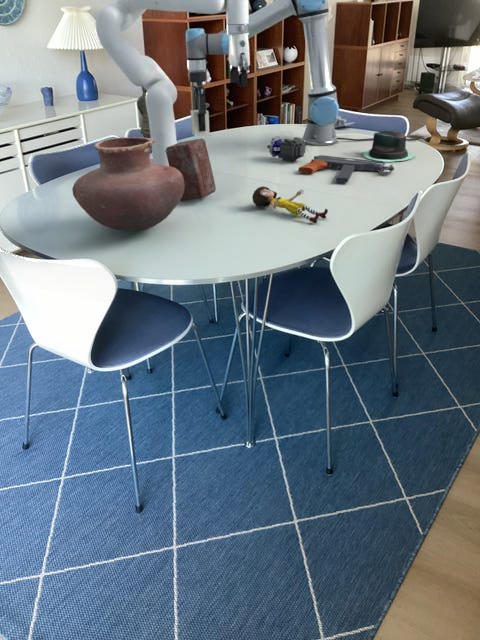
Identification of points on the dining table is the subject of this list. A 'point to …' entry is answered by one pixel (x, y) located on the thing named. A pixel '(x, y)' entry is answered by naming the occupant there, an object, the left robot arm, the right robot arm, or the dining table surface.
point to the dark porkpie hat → (388, 147)
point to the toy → (287, 148)
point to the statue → (144, 115)
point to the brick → (196, 124)
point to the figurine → (284, 203)
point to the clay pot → (128, 186)
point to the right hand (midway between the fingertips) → (200, 129)
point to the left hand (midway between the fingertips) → (238, 84)
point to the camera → (339, 120)
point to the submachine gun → (343, 166)
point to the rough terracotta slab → (192, 168)
